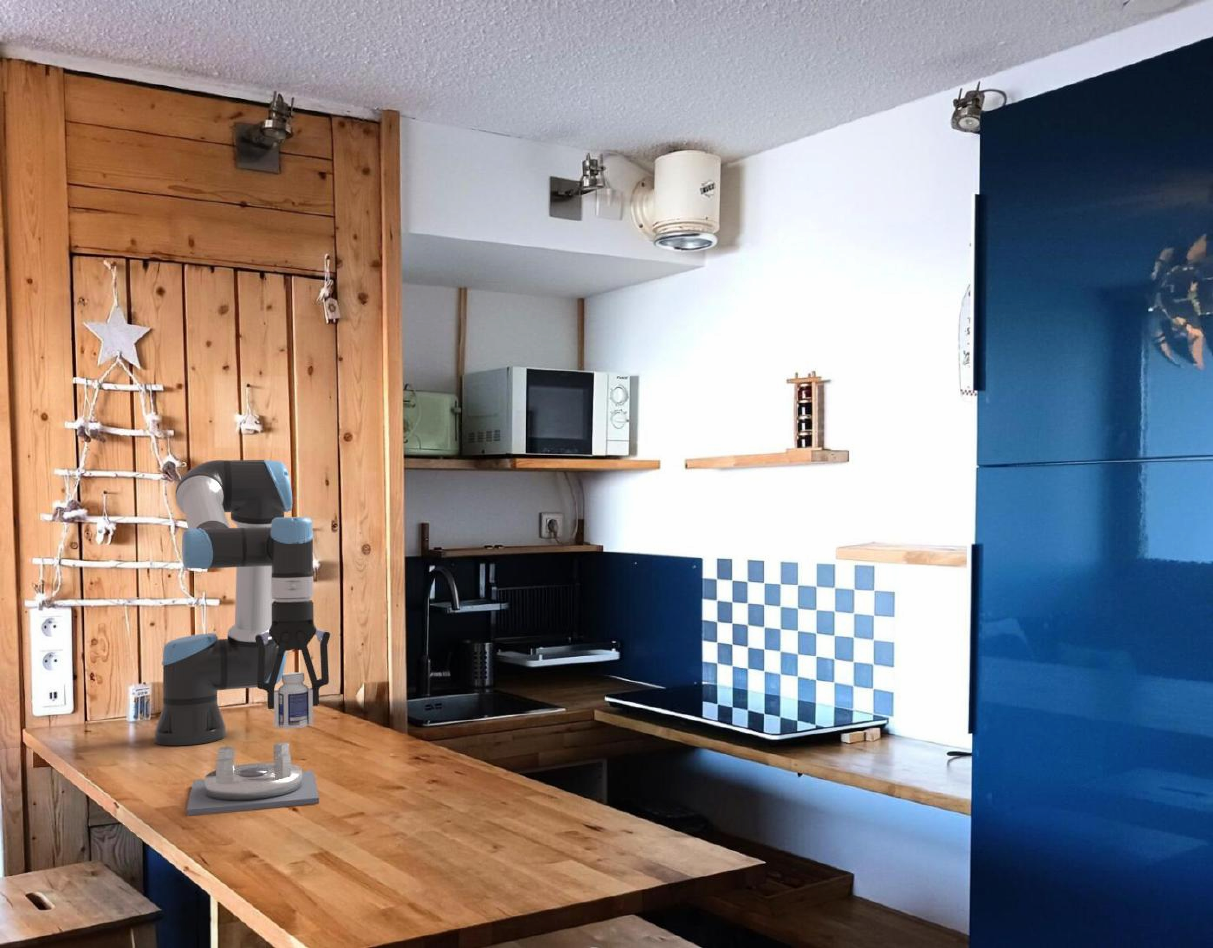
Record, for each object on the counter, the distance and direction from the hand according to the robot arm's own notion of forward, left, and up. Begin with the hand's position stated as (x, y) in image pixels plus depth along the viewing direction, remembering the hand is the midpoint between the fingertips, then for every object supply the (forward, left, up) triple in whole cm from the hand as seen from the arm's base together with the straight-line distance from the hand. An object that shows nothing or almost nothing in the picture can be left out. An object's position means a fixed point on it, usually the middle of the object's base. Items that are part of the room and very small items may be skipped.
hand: (293, 724), depth 204 cm
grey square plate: (0, -7, -12) cm, 14 cm away
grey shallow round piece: (0, -7, -11) cm, 13 cm away
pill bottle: (0, 0, -1) cm, 1 cm away
